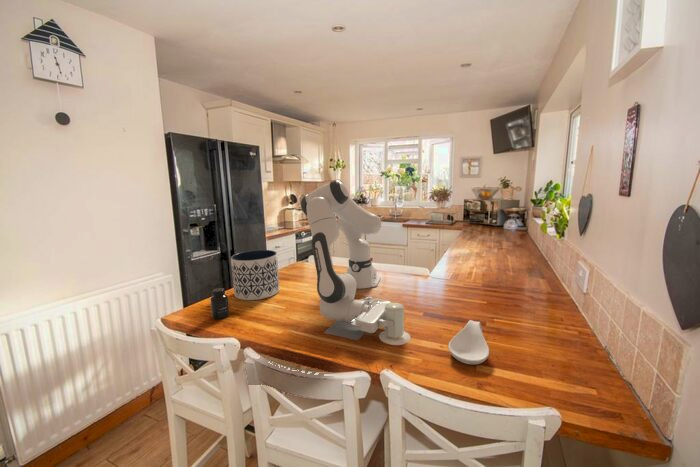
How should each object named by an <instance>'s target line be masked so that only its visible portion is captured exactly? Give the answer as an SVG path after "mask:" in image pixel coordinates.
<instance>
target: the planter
mask: <svg viewBox="0 0 700 467" xmlns="http://www.w3.org/2000/svg"><path fill="white" fill-rule="evenodd" d="M278 264H279V263H278V253H277V251H276V250H275V251H274V250H270V249H257V250H256V249H255V250H248V251H241V252H238V253H236V254H233V255H232V256H230V265H231V274H232V284H233V286H232V287H233V293H234V297H235V298H237V299H239V300H242V301H260V300H264V299H269V298H271V297H273V296H274V295H276V294H277V293H279V291H280V277H279V276H280V275H279V265H278Z"/></svg>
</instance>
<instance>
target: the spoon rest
mask: <svg viewBox="0 0 700 467" xmlns="http://www.w3.org/2000/svg"><path fill="white" fill-rule="evenodd" d="M482 327H483V326H482V324H481V321H474V320H472V319H469V321H468V322H467V323H466V324H465V326H464V327H463V328H462V329H461V330H459V331H458V332H457V333H456V334H455V335H454V336H453V337H452V338H451V340H449V342H448V345H447V346H448V347H447V348H448V351H449V354H450V355H452V357H453V358H454V359H456V360H457V361H458V362H459V363H462V364H466V365H479V364H482V363H483V362H485V361H487V359H488V357H489V356H490V348H489V345H488V343H487V341H486V339H485V335H484V334H483V328H482Z"/></svg>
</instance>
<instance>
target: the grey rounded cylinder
mask: <svg viewBox="0 0 700 467" xmlns="http://www.w3.org/2000/svg"><path fill="white" fill-rule="evenodd" d="M389 319H390V320H394V325H393V326H392V327H391V326H385V327H384V331H385V334H386V335H387V336H389V337H394V338H397V337H402V336H403V334H404V331H405V307H404V305H403V304H401V303H399V302H391V303H388V304H386V305H385V320H389Z"/></svg>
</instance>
